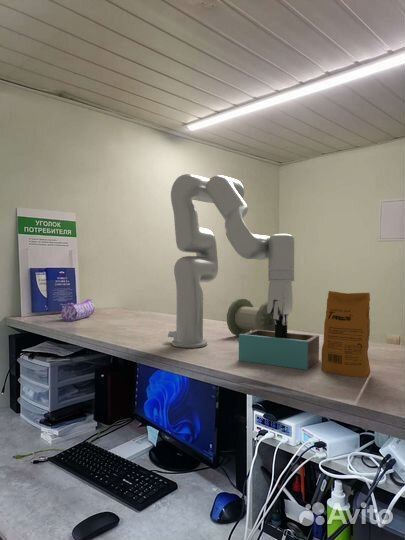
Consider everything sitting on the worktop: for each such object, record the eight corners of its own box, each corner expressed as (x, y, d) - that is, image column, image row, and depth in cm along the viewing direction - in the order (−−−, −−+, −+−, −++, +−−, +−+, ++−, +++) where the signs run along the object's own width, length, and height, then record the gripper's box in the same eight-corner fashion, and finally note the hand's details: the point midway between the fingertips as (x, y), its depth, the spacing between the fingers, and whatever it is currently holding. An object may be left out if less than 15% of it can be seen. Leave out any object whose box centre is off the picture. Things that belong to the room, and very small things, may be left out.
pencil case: (76, 322, 196) (76, 302, 196) (59, 321, 198) (59, 302, 198) (95, 316, 218) (95, 299, 218) (79, 316, 220) (79, 298, 220)
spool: (226, 337, 160) (226, 299, 159) (252, 333, 169) (252, 298, 169) (258, 343, 147) (258, 303, 147) (283, 339, 157) (284, 300, 157)
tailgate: (238, 360, 117) (238, 334, 117) (240, 359, 119) (240, 333, 118) (307, 369, 108) (307, 341, 108) (308, 368, 109) (308, 340, 109)
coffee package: (327, 366, 115) (328, 289, 115) (373, 373, 108) (375, 291, 108) (316, 374, 107) (317, 291, 106) (365, 382, 100) (367, 293, 99)
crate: (240, 362, 119) (240, 335, 119) (255, 354, 129) (255, 329, 129) (308, 371, 109) (308, 342, 109) (318, 362, 120) (319, 335, 119)
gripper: (277, 275, 127) (277, 333, 127) (260, 276, 114) (260, 341, 114) (300, 275, 124) (300, 335, 124) (285, 276, 110) (285, 343, 111)
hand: (281, 338), depth 119 cm, fingers closed
